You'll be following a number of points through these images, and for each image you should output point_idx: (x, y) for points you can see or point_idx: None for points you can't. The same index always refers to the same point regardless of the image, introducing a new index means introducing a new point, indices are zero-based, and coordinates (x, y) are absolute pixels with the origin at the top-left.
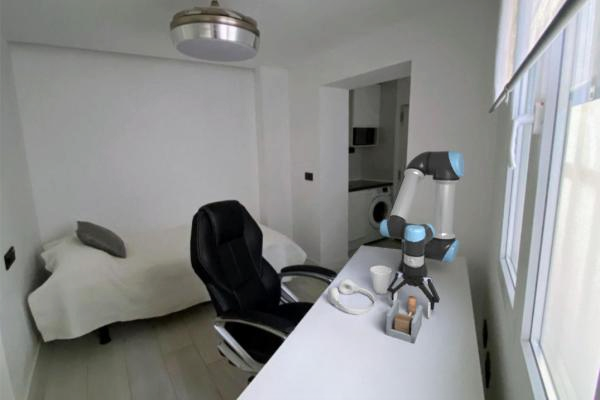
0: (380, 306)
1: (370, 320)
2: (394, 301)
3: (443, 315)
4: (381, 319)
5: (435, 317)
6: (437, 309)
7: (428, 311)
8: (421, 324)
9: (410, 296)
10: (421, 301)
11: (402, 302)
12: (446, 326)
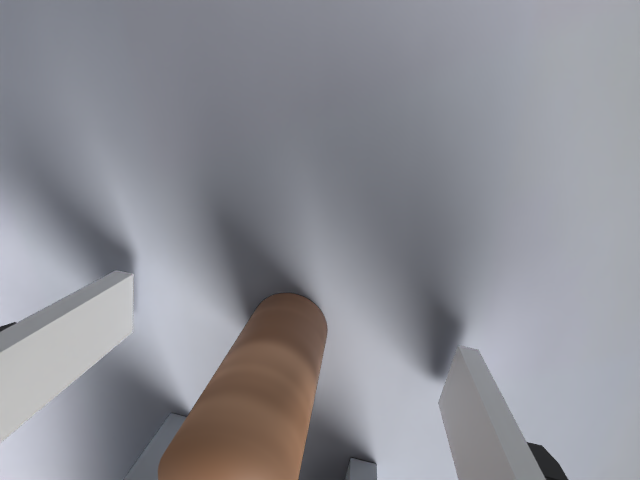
0: (12, 285)
1: (28, 476)
2: (56, 384)
3: (621, 287)
4: (86, 455)
5: (518, 343)
6: (580, 174)
7: (459, 467)
8: (375, 469)
9: (188, 451)
10: (393, 23)
11: (174, 139)
12: (594, 455)
